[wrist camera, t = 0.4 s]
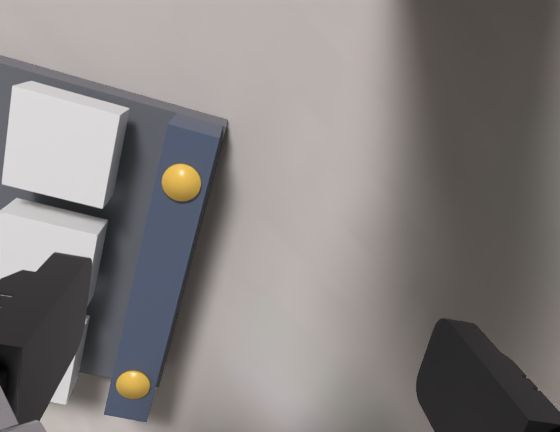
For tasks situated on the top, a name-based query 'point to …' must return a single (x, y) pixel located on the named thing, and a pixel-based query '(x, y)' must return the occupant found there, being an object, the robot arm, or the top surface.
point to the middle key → (47, 237)
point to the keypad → (135, 230)
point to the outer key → (71, 373)
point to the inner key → (63, 144)
